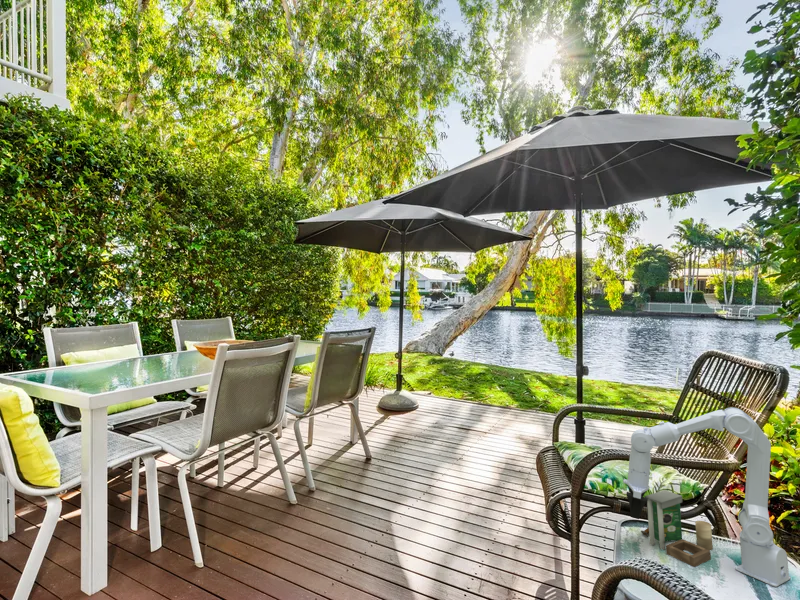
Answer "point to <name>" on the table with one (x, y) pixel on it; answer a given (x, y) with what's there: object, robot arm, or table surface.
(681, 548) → the socket block
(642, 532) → the wooden post with brackets
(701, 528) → the peg
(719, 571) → the table surface
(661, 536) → the miniature side table
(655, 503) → the coffee box
